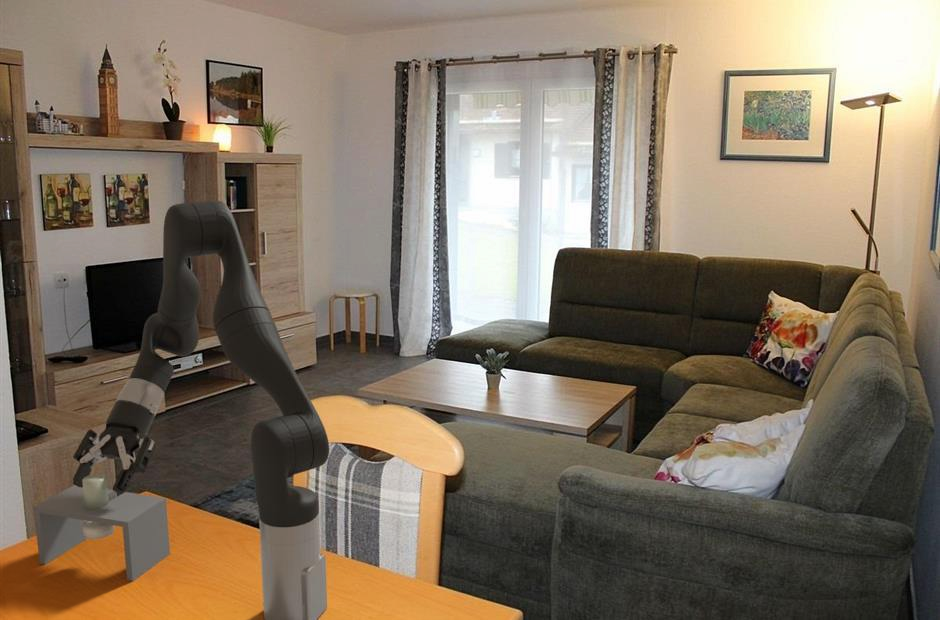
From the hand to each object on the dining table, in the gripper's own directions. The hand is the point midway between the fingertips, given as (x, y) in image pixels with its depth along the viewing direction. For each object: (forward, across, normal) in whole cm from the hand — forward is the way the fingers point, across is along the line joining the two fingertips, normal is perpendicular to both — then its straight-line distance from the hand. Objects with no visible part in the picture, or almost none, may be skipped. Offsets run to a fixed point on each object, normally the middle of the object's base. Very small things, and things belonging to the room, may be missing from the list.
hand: (97, 488), depth 142 cm
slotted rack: (+10, 0, +9) cm, 14 cm away
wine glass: (+6, 0, +5) cm, 8 cm away
